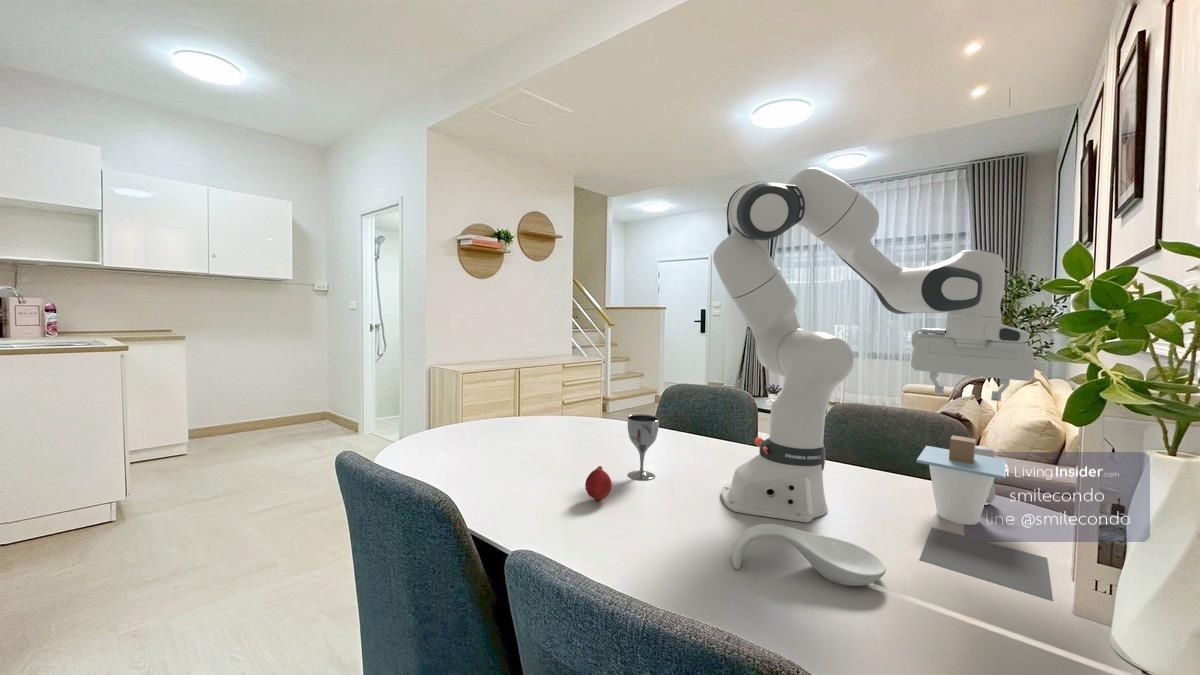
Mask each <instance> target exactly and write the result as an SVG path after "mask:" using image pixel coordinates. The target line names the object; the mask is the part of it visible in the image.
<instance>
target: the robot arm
mask: <svg viewBox="0 0 1200 675" xmlns="http://www.w3.org/2000/svg"><path fill="white" fill-rule="evenodd" d="M726 222H727V223H726V224H727V225H726V228H727V229H726V230H727V231H726V232H727V234H728V237H726V238H725V239H723V240H722V241H721V242H720V243H719V244H718V246H717V247H716V248H715V250H714V252H713V255H712V258H713V260H712V261H713V264H714V266H715V269H716V271H717V273H718V276H719V278H720V280H721V282H722V284H723V286H724V287H725V289H726V291H727V292H728V295H729V296H730V298H731V299H732V301H733V302H734V303H735V305H736V307H737V309H738V310H739V311H740V313H741V314H742V317H743V318H744V320H745V321H746V323H747V324H748V326H749V328H750V330H751V332H752V335H753V337H754V340H755V344H756V348H755V350H756V351H755V354H756V357H757V360H758V362H759V363H760V364H761V366H762V367H764V368H765V369H766V370H767V371H769V372H771V373H772V374H775V375H777V376H780V377H785V378H784V379H785V380H784V383H783V384H784V385H783V388H782V390H781V393H780V395H779V397H778V398H776V400H774V401H773V402H772V404H771V406H770V421H769V437H768V438H766V439H763V438H762V437H760V436H756V437H755V439H754V444H755V445H756V447H757V448H759V451H758V452H759V454H757V455H755V456H754V457H753V458H751V459H750V460H747V461H746V462H744V463H742V464H741V465H738V467H737V468H736V469H735V470H734V473H733V477H732V481H731V484H725V485H724V486H723V487H722V488H721V493H720V496H721V500H722V502H723V504H724V505H725V506H726V507H728V509H730V510H731V511H733V512H736V513H739V514H740V513H741V514H747V515H751V516H759V517H760V516H761V517H766V518H767V517H768V518H774V519H781V520H786V521H793V522H800V523H801V522H802V523H811V521H812V520H813V519H815V518H818V517H822V516H824V515H826V514H827V513H828V511H829V510H828V504H827V500H826V496H825V490H824V489H825V488H824V479H823V477H824V476H823V475H824V473H823V471H825V464H826V445H824V437H825V436H824V434H825V422H826V414H827V408H828V405H829V403H830V400H831V398H832V395H833V392H834V391H835V389H836V388H837V386H838V385H839V384H840V383H842V382H843V381H844V380H846V379H847V378H848V377H849V375H850V374H851V372H852V369H853V367H854V354H853V353H854V352H853V350H852V348H851V346H850V345H849V344H848V342H846V341H845V340H843V339H842V338H839V337H838V336H835V335H832V334H831V333H828V332H823V331H815V330H814V331H813V330H806V329H804V327H803V326H801V324H800V322H799V321H798V318H797V314H796V311H795V309H796V308H797V307H796V306H797V296H796V294H795V293H794V292H793V291H792V289H791V286H789V284H788V283H787V281H786V279H785V278H784V277H783V275H782V273H781V271H780V270H779V268H778V267H777V265H776V263H775V262H774V260H773V259H772V258H771V255H770V253H769V250H768V240H772V239H775V238H777V237H779V236H781V235H783V234H784V233H786V232H787V231H788V230H789V229H791V228H793V227H794V226H795V225H797V224H798V225H799V226H801V227H803V228H804V229H806V230H807V231H808V232H810V233H811V234H812V235H813V236H815V237H816V238H817V239H818V240H820V242H822V243H824V244H825V245H827V246H828V247H829V248H830V249H831V250H833V251H834V253H835V254H836V255H837V257H839V258H840V259H841V260H842V261H843V262H844V263H845V264H846V265H847V266H848V267H849V268H850V269H851V270H852V271H854V272H855V273H856V274H857V275H858V276H859V277H861V279H863V280H864V281H865V282H866V283H867V284H868V285H869V286H870V287H871V288H872V290H873V291H874V292H875V294H876V296H877V298H878V299H879V301H880V303H881V304H882V305H883V307H884V308H885V309H886V310H888V311H889V312H891V313H893V314H896V315H905V314H906V315H907V314H943V313H944V314H945V313H947V314H946V315H947V316H946V324H945V326H946V327H945V328H926V327H923V328H920V329H918V330H916V331H914V332H913V333H912V335H911V345H912V348H913V350H912V355H911V361H910V366H911V368H912V370H914V371H919V372H929V379H930V381H931V382H932V383H933V385H934V394H936V395H944V392H945V390H944V389H945V385H942V384H940V383H939V381H938V380H937V378H938V377H940V376H939V374H940V373H941V374H950V375H951V374H952V375H960V376H970V377H971V376H972V377H982V378H989V379H990V378H991V379H1000V381H999V382H1000V383H999V384H1000V385H1002V386H1000V387H999V389H998V390H992V391H991V399H990V400H991V401H995V402H1001V401H1002V393H1004V392H1005V391H1006V390H1007V388H1008V387H1009V386H1010V383H1011V381H1010V380H1013V381H1020V382H1021V381H1024V382H1030V381H1032V380H1033V379H1034V378H1035V370H1036V368H1035V367H1036V366H1035V357H1034V356H1035V355H1034V352H1033V349H1032V347H1031V346H1030V345H1029V344H1027V342H1028V341H1029V340H1030V333H1029V331H1026V330H1023V329H1020V328H1017V327H1014V326H1012V325H1005V324H1002V312H1001V302H1002V299H1003V297H1004V292H1005V277H1006V276H1005V265H1004V261H1003V258H1002V256H1001V255H999V254H997V253H995V252H993V251H989V250H985V249H983V250H982V249H980V250H978V249H966V250H960V251H958V252H957V253H956V254H955V255H954V256H952V257H951V258H949V259H946V260H944V261H941V262H940V263H935V264H934V265H929V266H924V267H913V268H909V267H903V266H898V265H896V264H894V263H893V262H892V261H891V260H890V259H889V258H888V257H887V256H886V255H884V254H883V253H882V252H881V251H880V250H879V249H878V248H876V246H875V245H874V244H873V243H872V239H873V238H874V236H875V234H876V233H877V230H878V228H879V224H880V214H879V210H878V208H876V206H875V205H874V204H873V203H872V202H871V200H869V198H867V196H865V195H864V194H862V193H861V192H860V191H858V190H857V189H856V188H854V187H853V186H852V185H850V184H849V183H847V182H846V181H844V180H843V179H841V178H839V177H838V176H836V175H834V174H833V173H831V172H829V171H827V170H824V169H822V168H819V167H816V166H815V167H814V166H813V167H807V168H804V169H802V170H800V171H799V172H797V173H796V174H795V175H794V176H792V177H791V178H790V180H789V181H788V182H787V183H778V182H768V181H755V182H751V183H748V184H745V185H742V186H741V187H739V188H738V189H736V191H734V193H733V194H732V195H731V197H730V198H729V200H728V203H727V206H726Z"/></svg>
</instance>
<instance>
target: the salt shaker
mask: <svg viewBox="0 0 1200 675" xmlns="http://www.w3.org/2000/svg"><path fill="white" fill-rule="evenodd" d="M975 454H977V455H982V456H988V457H994V458H995V450H993V448H991V447H989V446H988V447H987V446H984V445H975ZM994 481H995V480H994ZM994 481H993V484H992V486H991V489H990V492H989V494H988V497H987V500H986V502H987V503H990V504H991V503H993V501H994V500H995V499H996V490H995V488H996V487H995V483H994Z"/></svg>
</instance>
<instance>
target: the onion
mask: <svg viewBox="0 0 1200 675" xmlns="http://www.w3.org/2000/svg"><path fill="white" fill-rule="evenodd" d="M612 483H613V482H612V479H611V477H610V475H609V474H608V473H607V472H606V471H604V469H603V466H602V465H599V466H597V467H596V468H595V469H594V470H592V471H591V472H590V473H589V474H588V476H587V477H586V480H585V484H584V487H585V491H586V493H587V495H588V496H589V497H590V498H592V499H593V500H595V501H596V502H599V503H600V502H601V501H602V500H604V499H606V497H607V496H608V495H610V492H612V491H611V490H612V488H613V484H612Z"/></svg>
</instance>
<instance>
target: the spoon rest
mask: <svg viewBox="0 0 1200 675" xmlns="http://www.w3.org/2000/svg"><path fill="white" fill-rule="evenodd" d="M767 537H773V538H774V537H775V538H779V539H781V540H785V541H786V542H788V543H789V544H791V546H793V547H794V548H795V549H796V550H798V552H799V553H800V554H801V555H802V556H803V557H804V558H805V560H807V562H808V563H809V564H810V565H811V566H812V567H813V568H814V569H815V571H817V572H818V573H820V575H821V576H822V577H823V576H824V579H826V578H827V579H826V580H827V581H830V582H832V581H833V582H832V583H834V582H836V583H835V584H837V583H839V584H838V585H841V584H843V585H842V586H846V585H850V586H849V587H856V586H857V587H861V586H867V585H871V584H873V583H875V582H877V581H878V580H880V579H881V578H882V577H883V576H884V575H885V574H886V572H887V568H886V565H885V563H884V562H883V560H881V559H880V558H879V556H877V555H876V554H874V553H873V552H871V551H870V550H868V549H866V548H864V547H862V546H859V545H857V544H854V543H852V542H850V541H846V540H843V539H839V538H835V537H831V536H827V535H821V534H816V533H813V532H809V531H804V530H802V529H797V528H794V527H791V526H787V525H782V524H776V523H760V524H756V525H753V526H750V527H747V529H744V530H743V531H741V533H739V535H738V536H737V537H736V538H735V541H734V543H733V544H732V549H731V560H732V566H733V568H734V570H739V569H740V568H741V565H742V560H743V555H744V553H745V552H744V551H745V550H746V548H747V546H749V545H750V544H751V543H752V542H753V541H755V540H758V539H762V538H767Z"/></svg>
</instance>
